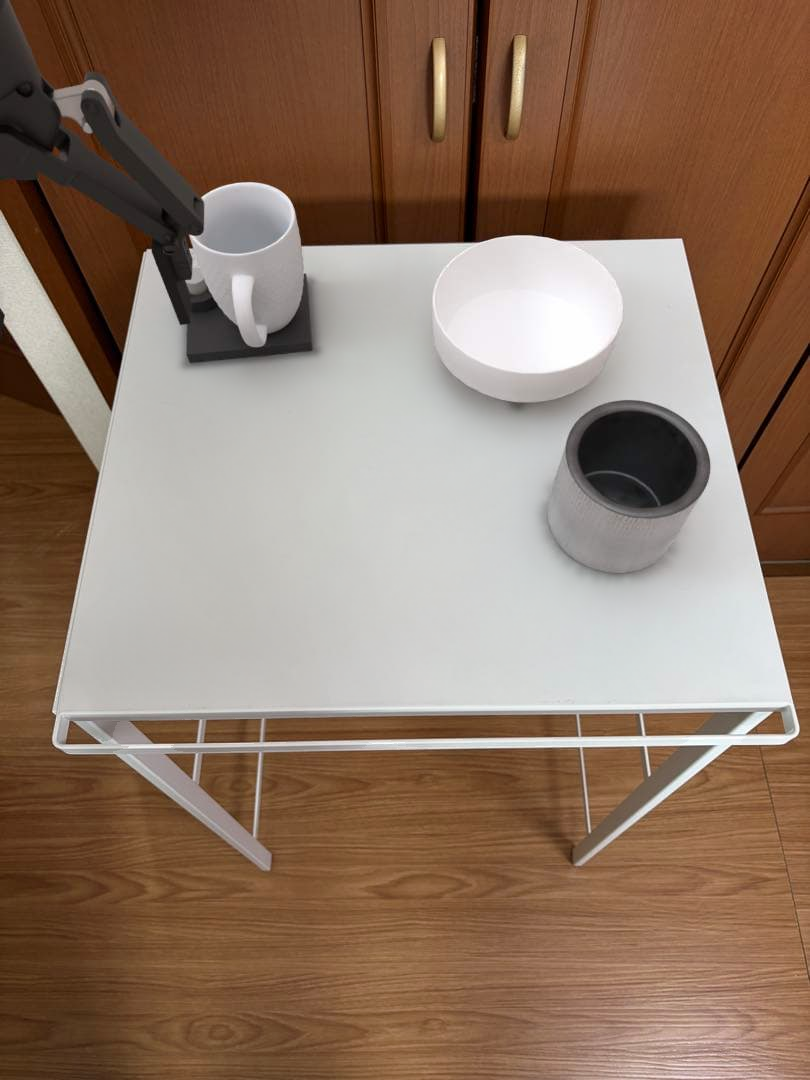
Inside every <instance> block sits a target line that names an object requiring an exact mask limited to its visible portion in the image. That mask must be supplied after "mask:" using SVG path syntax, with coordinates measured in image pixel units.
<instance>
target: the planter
mask: <svg viewBox="0 0 810 1080" xmlns="http://www.w3.org/2000/svg"><path fill="white" fill-rule="evenodd" d="M564 445H565V446H564V449H563V452H562V455H561V458H560V461H559V464H558V468H557V470H556V474H555V476H554V480H553V483H552V486H551V489H550V491H549V495H548V500H547V513H546V514H547V515H546V516H547V522H548V525H549V528H550V531H551V534H552V536H553V538H554V540H556V542H557V544H558V545H559V546H560V547H561V549H562V550H563V551H564V552H565V553H566V554H567V555H569V556H570V557H571V558H572V559H574V560H575V561H577V562H578V563H580V564H581V565H584V566H586V567H589V568H590V569H594V570H597V571H600V572H604V573H605V572H606V573H612V574H613V573H614V574H624V573H625V574H626V573H632V572H637V571H640V570H643V569H645V568H647V567H650V566H651V565H653V564H655V563H656V562H658V560H660V559H661V558H662V557H663V556H664V555H665V554H666V553H667V552H668V550H669V549H670V548H671V546H672V544H673V543H674V542H675V540H676V538H677V537H678V535H679V533H680V531H681V529H682V528H683V526H684V525H685V523H686V521H687V519H688V518H689V516H690V515H691V512H693V510H694V508H695V506H696V504H697V503H698V501H699V499H700V498H701V497H702V495H703V493H704V492H705V490H706V488H707V486H708V483H709V480H710V475H711V457H710V454H709V451H708V450H709V449H708V447H707V445H706V443H705V441H704V439H703V438H702V436H701V434H700V433H699V432H698V430H696V428H695V427H694V426H693V425H692V424H691V423H690V422H688V420H686V418H684V417H682V416H681V415H679V414H678V413H677V412H675V411H673V410H671V409H669V408H667V407H664V406H662V405H660V404H657V403H654V402H649V401H645V400H636V399H620V400H613V401H609V402H605V403H602V404H599V405H597V406H595V407H592V408H591V409H589V410H588V411H587V412H585V413H584V414H582V415H581V416H580V417H579V418H578V419H577V420H576V422H575V423H574V424H573V426H572V427H571V429H570V431H569V433H568V436H567V438H566V440H565V444H564Z"/></svg>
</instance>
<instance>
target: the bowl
mask: <svg viewBox="0 0 810 1080" xmlns="http://www.w3.org/2000/svg"><path fill="white" fill-rule="evenodd" d="M431 295H432V296H431V298H432V301H431V302H432V303H431V304H432V306H431V307H432V309H431V312H432V313H431V318H432V319H431V321H432V322H431V323H432V336H433V341H434V345H435V349H436V352H437V354H438V356H439V357H440V359H441V361H442V363H443V365H444V366H445V367H446V368H447V369H448V370H449V372H450V373H451V374H452V375H453V376H454V377H455V378H457V379H458V380H459V381H461V382H462V383H463V384H465V386H467V387H469V388H471V389H473V390H474V391H476V392H478V393H481V394H483V395H486V396H487V397H488V396H489V397H491V398H494V399H498V400H501V401H507V402H513V403H539V402H546V401H554V400H556V399H560V398H562V397H565V396H569V395H571V394H573V393H575V392H577V391H578V390H580V389H582V388H585V387H586V386H587V385H588V384H589V383H591V382H592V381H594V379H595V378H597V377H598V375H599V374H600V372H601V371H602V369H604V367H605V366H606V364H607V362H608V360H609V357H610V355H611V353H612V351H613V348H614V346H615V343H616V341H617V338H618V335H619V333H620V330H621V327H622V325H623V319H624V310H625V308H624V307H625V306H624V302H623V296H622V292H621V290H620V288H619V286H618V283H617V281H616V279H615V278H614V276H612V274H611V272H610V271H609V270H608V269H607V268H606V267H605V266H604V265H603V264H602V263H601V262H600V261H599V260H598V259H597V258H595V257H594V256H592V255H591V254H589V253H587V252H586V251H584V250H583V249H581V248H579V247H576V246H575V245H573V244H570V243H567V242H565V241H562V240H558V239H554V238H550V237H545V236H537V235H506V236H501V237H495V238H491V239H488V240H484V241H481V242H478V243H476V244H473V245H472V246H470V247H468V248H465V249H464V250H463V251H461V252H459V254H457V255H456V256H454V257H453V258H452V259H451V260H450V261H448V263H447V264H446V265H445V266H444V267H443V269H442V271H441V272H440V274H439V276H438V277H437V279H436V280H435V283H434V286H433V290H432V294H431Z"/></svg>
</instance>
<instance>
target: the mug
mask: <svg viewBox="0 0 810 1080" xmlns="http://www.w3.org/2000/svg"><path fill="white" fill-rule="evenodd" d="M200 197H201V198H202V200H203V201H204V231H203V233H202V234H201V235H199V236H192V235H188V237H189V240H190V243H191V246H192V251H193V252H194V255H195V258H196V262H197V265H198V266H199V268H200V269H201V273H202V275H203V277H204V280H205V283H206V284H207V286H208V289H209V291H210V293H211V294H212V296H213V298H214V300H215V301H216V302H217V304H218V306H219V307H220V308H221V309H222V310H223V312H224V314H225V315H226V316H228V318H229V319H230V320H231V321H233V322H234V323H235V324H236V325H237V326H238V327H239V330H240V333H241V335H242V338H243V340H244V341H245V343H246V344H247V345H249V346H251V347H261V346H263V345H264V344H265V342H266V338H267V334H268V333H273V332H276V331H278V330H280V329H282V328H283V327H285V326H286V325H287V324H288V323H289V322H290V321H291V320H292V318H293V317H294V315H295V313H296V311H297V309H298V307H299V303H300V301H301V296H302V293H303V284H304V283H303V279H304V271H305V264H304V256H303V247H302V242H301V241H302V240H301V235H300V229H299V225H298V220H297V213H296V210H295V207H294V205H293V203H292V201H291V199H290V197H288V196H287V195H286V194H285V193H284V192H283V191H282V190H280V189H278V188H277V187H274V186H272V185H270V184H266V183H262V182H261V183H260V182H254V181H253V182H252V181H249V182H248V181H247V182H246V181H245V182H235V183H230V184H225V185H221V186H219V187H217V188H215V189H212V190H210V191H209V192H207V193H205V194H204V195H202V196H200Z"/></svg>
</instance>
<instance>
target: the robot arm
mask: <svg viewBox="0 0 810 1080" xmlns="http://www.w3.org/2000/svg"><path fill="white" fill-rule="evenodd" d="M62 118H69V119H72V120H74V121H75V122H76V123H77V124H78V125H79V126H80V127H81V130H82V131H83V133H85V134H88V135H90V134H93V135H94V137H95V138H96V140H97V141H98V143H99V144H100V145H101V147H102V148H103V149H104V150H105V151H106V152H107V153H108V154H109V155H110V156H111V157H112V158H113V159H114V160H115V162H117V163H118V165H120V166H121V167H122V168H123V170H125V172H127V174H128V175H129V176H128V175H127V174H126V173H124V172H123V171H121V170H120V169H119V168H117V167H116V166H115V165H112V164H111V163H109V161H107V160H105V159H104V158H102V157H101V156H99V155H98V154H97V153H95V152H94V151H92V150H91V149H90V148H88V147H86V145H85V144H84V142H83V140H82V139H81V138H80V136H79V135H77V134H76V133H75V132H74V131H72V130H70V129H69V128H67V127H66V126H65V125H64V124H62V120H63V119H62ZM55 148H56V149H57V150H58V152H59V156H57V155H55V153H53V151H54V149H55ZM41 174H42V175H43V176H45V177H46V178H48V179H49V180H50V181H53V182H54V183H56V184H57V185H59V186H60V187H63V188H69V187H71V188H73V189H74V190H76V191H78V192H80V194H83V195H84V196H86V197H87V198H89V199H90V200H91V201H93V202H95V203H96V204H98V205H99V206H101V207H103V208H105V209H106V210H107V211H109V212H110V213H113V214H114V215H115V216H117V217H118V218H120V219H122V220H123V221H125V223H128V224H130V225H131V226H132V227H134V228H136V229H137V230H139V231H140V232H142V233H144V234H145V235H146V236H148V237H150V238H151V254H152V256H153V259H154V262H155V265H156V267H157V270H158V273H159V275H160V277H161V280H162V282H163V285H164V287H165V290H166V292H167V293H166V294H167V295H168V298H169V300H170V303H171V306H172V309H173V311H174V313H175V316H176V319H177V321H178V323H179V325H180V326H181V325H182V326H183V325H187V324H190V322H191V295H190V292H189V289H188V287H187V284H186V281H185V280H191V278H192V268H193V264H194V263H193V257H192V256H193V255H192V253H191V250H190V247H189V244H188V241H187V238H186V237H187V236H189V235H192V236H199V235H201V234H202V233H203V231H204V201H203V200H202V198H201V197H202V196H200V195H199V193H197V192H196V190H195V189H193V187H192V186H191V185H190V183H188V181H186V180H185V178H184V177H183V176H182V175H181V173H179V172H178V171H177V170H176V168H175V167H174V166H173V165H172V164H171V163H170V162H169V161H168V160H167V159H166V158H165V156H163V154H162V153H161V152H160V151H159V150H158V149H157V147H155V145H154V144H153V143H152V142H151V141H150V140H149V139H148V138H147V137H146V136H145V134H143V132H141V130H140V129H139V128H138V127H137V126H136V125H135V124H134V123H133V122H132V120H131V119H130V118H129V117H128V116H127V115H126V114H125V113H124V112H123V111H122V110H121V108H120V106H119V103H118V102H117V99H116V97H115V95H114V93H113V90H112V89H111V87H110V85H109V83H108V81H107V79H106V77H105V76H104V75H102V74H101V73H100V72H97V71H89V72H86V74H85V75H84V79H83V83H81V84H77V85H73V86H68V87H62V88H58V89H55V88H54V87H53V86H52V85H51V84H50V83H49V81H47V80H46V78H45V77H44V76H43V74H42V73H41V71H40V69H39V67H38V64H37V62H36V59H35V56H34V54H33V52H32V49H31V47H30V45H29V42H28V40H27V38H26V35H25V33H24V30H23V28H22V26H21V24H20V21H19V19H18V18H17V15H16V13H15V11H14V8H13V6H12V3H11V1H10V0H0V183H1V182H4V181H6V180H16V181H17V180H18V181H22V182H23V181H24V182H25V181H34V180H38V179H39V175H41ZM130 176H131V177H130ZM5 316H6V314H5V313H4V312H3V310H2V308H1V307H0V340H1V339H2V333H3V327H4V323H5Z"/></svg>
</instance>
